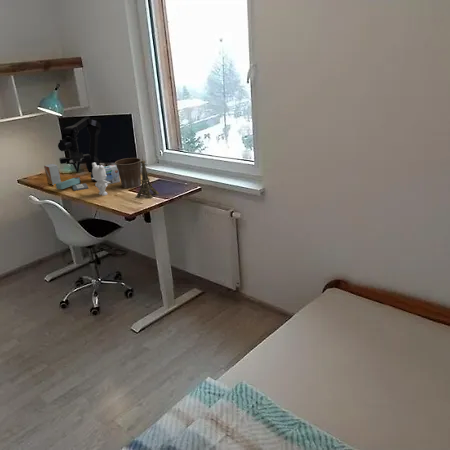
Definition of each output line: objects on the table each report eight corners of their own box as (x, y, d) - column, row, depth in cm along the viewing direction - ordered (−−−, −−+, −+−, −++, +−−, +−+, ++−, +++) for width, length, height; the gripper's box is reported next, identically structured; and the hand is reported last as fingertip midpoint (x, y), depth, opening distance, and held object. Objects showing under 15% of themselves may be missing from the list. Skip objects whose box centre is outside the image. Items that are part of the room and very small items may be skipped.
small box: (47, 184, 313) (43, 165, 308) (56, 181, 317) (52, 163, 312) (52, 186, 307) (48, 167, 302) (61, 183, 311) (57, 165, 306)
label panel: (86, 184, 305) (85, 182, 305) (88, 188, 296) (88, 186, 295) (72, 186, 302) (71, 185, 302) (74, 191, 293) (73, 189, 292)
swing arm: (82, 181, 306) (81, 177, 305) (61, 189, 293) (60, 184, 292) (77, 181, 309) (76, 176, 308) (56, 188, 295) (55, 184, 294)
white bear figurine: (99, 190, 291) (94, 160, 284) (118, 195, 278) (113, 163, 271) (89, 193, 286) (83, 162, 279) (107, 198, 273) (102, 166, 266)
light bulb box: (105, 185, 301) (103, 169, 297) (101, 183, 306) (98, 167, 302) (120, 181, 307) (118, 165, 303) (116, 179, 312) (113, 164, 308)
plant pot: (138, 189, 287) (135, 164, 281) (114, 189, 290) (110, 164, 285) (147, 181, 302) (144, 157, 296) (124, 182, 305) (121, 158, 299)
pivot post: (80, 183, 308) (79, 181, 308) (80, 184, 306) (80, 182, 305) (75, 184, 307) (75, 182, 307) (76, 185, 305) (75, 183, 304)
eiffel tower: (144, 192, 281) (138, 151, 271) (159, 193, 277) (154, 152, 268) (135, 197, 271) (129, 155, 262) (150, 198, 268) (145, 156, 259)
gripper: (58, 152, 277) (63, 177, 282) (90, 147, 284) (94, 172, 289) (57, 149, 286) (61, 173, 292) (87, 144, 293) (91, 168, 299)
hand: (77, 172), depth 293 cm, fingers closed
